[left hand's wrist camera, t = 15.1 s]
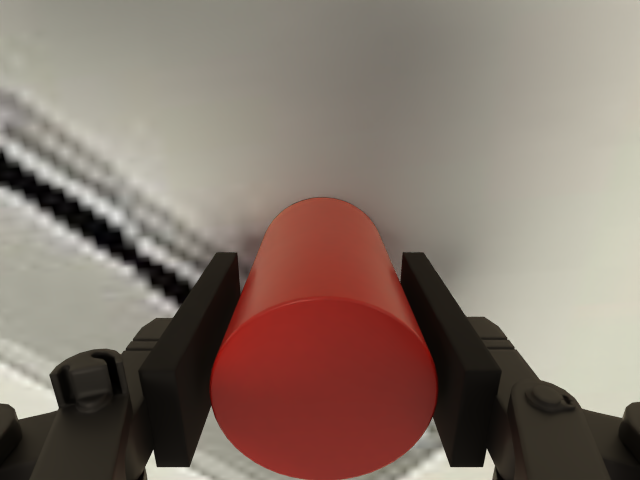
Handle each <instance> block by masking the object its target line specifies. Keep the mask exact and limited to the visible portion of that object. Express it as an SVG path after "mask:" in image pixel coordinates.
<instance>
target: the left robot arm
mask: <svg viewBox="0 0 640 480" xmlns="http://www.w3.org/2000/svg"><path fill="white" fill-rule="evenodd" d="M400 284H401V286H402V288H403V291H404V293H405V295H406V298H407V300H408V302H409V305H410V307H411V309H412V312H413V314H414V316H415V318H416V321H417V323H418V325H419V328H420V330H421V332H422V335H423V337H424V339H425V342H426V344H427V346H428V349H429V351H430V353H431V356H432V358H433V361H434V363H435V367H436V371H437V376H438V398H437V404H436V408H435V411H434V415H433V419H434V422H435V424H436V427H437V430H438V433H439V436H440V439H441V441H442V444H443V447H444V450H445V453H446V456H447V458H448V461H449V464H450V467H483V465H484V460H485V455H486V450H487V449H488V451H489V454H490V456H491V458H492V460H493V462H494V464H495V469H494V474H493V479H492V480H640V402H635V403H631V404H630V405H629V406H627V407H626V409H625V412H624V415H623V418H619V417H615V416H610V415H606V414H601V413H597V412H592V411H588V410H585V409H582V408H581V406H580V405H579V404H578V402H577V401H576V399H575V398H574V397H573V396H571V395H570V394H569V393H568V392H566V391H565V390H564V389H562V388H560V387H558V386H556V385H554V384H552V383H548V382H545V381H541V380H540V379H539V378H538V377H537V376H536V374H535V373H534V372H533V370H532V369H531V368H530V366H529V365H528V364H527V363H526V361H525V360H524V359H523V357H522V356H521V355H520V354H519V352H518V351H517V350H515V349H514V346H513V345H512V343H511V342H510V341H509V340H507V337H506V336H505V334H504V333H503V332H502V330H501V329H500V328H499V327H498V326H497V325H495V324H494V323H492V322H491V321H489V320H488V319H486V318H485V317H466V316H465V314H464V313H463V311H462V310H461V308H460V307H459V305H458V304H457V302H456V301H455V299H454V298H453V296H452V295H451V293H450V292H449V290H448V289H447V287H446V286H445V284H444V283H443V281H442V280H441V278H440V277H439V275H438V274H437V272H436V271H435V269H434V268H433V266H432V265H431V263H430V262H429V260H428V259H427V257H426V256H425V254H424V253H423V252H403V257H402V269H401V282H400ZM240 296H241V294H240V282H239V269H238V256H237V252H217V253H216V254H215V256H214V257H213V259H212V260H211V262H210V263H209V265H208V266H207V268H206V269H205V271H204V272H203V274H202V275H201V277H200V278H199V280H198V281H197V283H196V284H195V286H194V287H193V289H192V290H191V292H190V293H189V295H188V296H187V298H186V299H185V301H184V302H183V304H182V305H181V307H180V308H179V310H178V311H177V313H176V314H175V316H174V317H173V318H156V319H154V320H153V321H151V322H150V323H148V324H147V325H145V326H144V327H142V328H141V329H140V331H139V332H138V333H137V335H136V336H135V337H134V338H133V341H131V342H130V344H129V345H128V346H127V348H126V351H123V353H122V354H119V353H118V352H117V351H115V350H110V349H94V350H90V351H86V352H82V353H79V354H77V355H75V356H72V357H70V358H68V359H66V360H65V361H63V362H62V363H60V364H59V365H58V366H56V367H55V369H54V370H53V371H52V372H51V374H50V379H51V382H52V386H53V389H54V392H55V396H56V399H57V403H58V406H59V409H58V410H57V411H54V412H51V413H46V414H42V415H37V416H33V417H28V418H24V419H20V420H18V418H17V415H16V412H15V409H14V408H12V407H11V406H10V405H8V404H0V480H147V474H146V469H145V466H146V464H147V462H148V460H149V458H150V456H151V453H152V451H153V450H154V455H155V460H156V465H157V467H190V464H191V461H192V458H193V456H194V453H195V450H196V447H197V444H198V441H199V439H200V436H201V433H202V430H203V427H204V424H205V422H206V419H207V416H208V413H209V410H210V407H211V399H210V392H209V391H210V376H211V371H212V367H213V364H214V361H215V358H216V356H217V353H218V351H219V348H220V346H221V343H222V341H223V338H224V336H225V333H226V331H227V328H228V326H229V323H230V321H231V318H232V316H233V313H234V311H235V308H236V306H237V303H238V301H239V298H240Z"/></svg>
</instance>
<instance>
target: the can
mask: <svg viewBox="0 0 640 480" xmlns="http://www.w3.org/2000/svg"><path fill="white" fill-rule="evenodd" d="M209 392H210V399H211V406H212V409H213V412H214V415H215V418H216V420H217V422H218V424H219V426H220V428H221V430H222V431H223V433H224V434H225V436H226V437H227V438H228V440H229V441H230V442H231V443H232V444H233V445H234V446H235V447H236V448H237V449H238V450H239V451H240V452H241V453H243V454H244V455H245V456H246V457H248V458H249V459H251V460H252V461H254V462H255V463H257V464H259V465H261V466H263V467H265V468H266V469H269V470H271V471H274V472H276V473H279V474H282V475H286V476H289V477H294V478H299V479H305V480H342V479H348V478H353V477H358V476H361V475H365V474H368V473H371V472H373V471H376V470H378V469H380V468H383V467H385V466H386V465H388V464H390V463H392V462H394V461H395V460H397V459H398V458H399V457H401V456H402V455H404V454H405V453H406V452H407V451H408V450H409V449H410V448H412V447H413V446H414V445H415V444H416V442H417V441H418V440H419V439H420V438H421V436H422V435H423V434H424V432H425V430H426V429H427V427H428V426H429V424H430V421H431V419H432V417H433V415H434V411H435V408H436V404H437V398H438V376H437V371H436V367H435V363H434V361H433V358H432V356H431V353H430V351H429V349H428V346H427V344H426V342H425V339H424V337H423V335H422V332H421V330H420V328H419V325H418V323H417V321H416V318H415V316H414V314H413V312H412V309H411V307H410V305H409V302H408V300H407V298H406V295H405V293H404V291H403V288H402V286H401V284H400V281H399V279H398V277H397V274H396V272H395V270H394V267H393V265H392V263H391V260H390V258H389V256H388V253H387V251H386V249H385V246H384V244H383V242H382V240H381V237H380V235H379V233H378V230H377V229H376V227H375V225H374V224H373V222H372V221H371V220H370V218H369V217H368V216H367V215H366V214H365V213H364V212H362V211H361V210H360V209H358V208H357V207H355V206H353V205H351V204H350V203H347V202H344V201H342V200H338V199H334V198H311V199H306V200H303V201H300V202H297V203H295V204H293V205H291V206H289V207H288V208H286V209H285V210H283V211H282V212H281V213H280V214H279V215H278V216H277V217H276V218H275V219H274V220H273V221H272V223H271V224H270V225H269V227H268V229H267V231H266V233H265V236H264V238H263V241H262V243H261V246H260V248H259V251H258V253H257V256H256V258H255V261H254V263H253V266H252V268H251V271H250V273H249V276H248V278H247V281H246V283H245V286H244V288H243V291H242V293H241V296H240V298H239V301H238V303H237V306H236V308H235V311H234V313H233V316H232V318H231V321H230V323H229V326H228V328H227V331H226V333H225V336H224V338H223V341H222V343H221V346H220V348H219V351H218V353H217V356H216V358H215V361H214V364H213V367H212V371H211V376H210V391H209Z"/></svg>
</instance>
